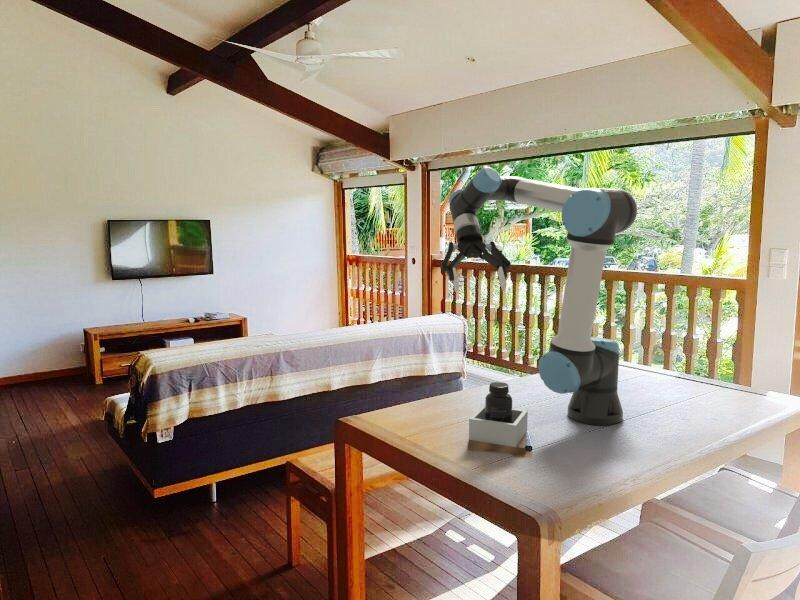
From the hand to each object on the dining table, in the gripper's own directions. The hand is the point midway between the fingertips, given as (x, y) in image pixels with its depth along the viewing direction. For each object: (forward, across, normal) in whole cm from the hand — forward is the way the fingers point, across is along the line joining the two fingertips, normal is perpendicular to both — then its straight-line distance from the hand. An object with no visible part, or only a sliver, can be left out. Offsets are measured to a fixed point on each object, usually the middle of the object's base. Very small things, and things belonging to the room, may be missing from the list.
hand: (480, 288), depth 166 cm
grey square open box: (+38, 0, -12) cm, 40 cm away
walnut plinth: (+40, 0, -14) cm, 43 cm away
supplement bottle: (+37, 0, -12) cm, 39 cm away
